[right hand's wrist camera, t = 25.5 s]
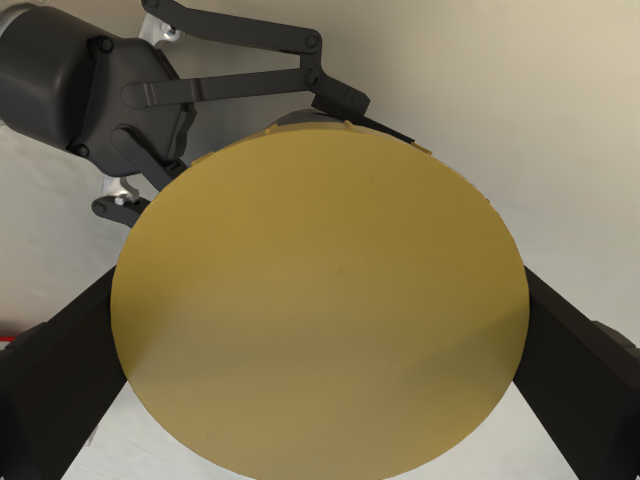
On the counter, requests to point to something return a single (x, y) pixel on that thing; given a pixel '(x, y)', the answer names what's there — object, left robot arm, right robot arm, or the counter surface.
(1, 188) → the counter surface
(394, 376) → the lid
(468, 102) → the counter surface
